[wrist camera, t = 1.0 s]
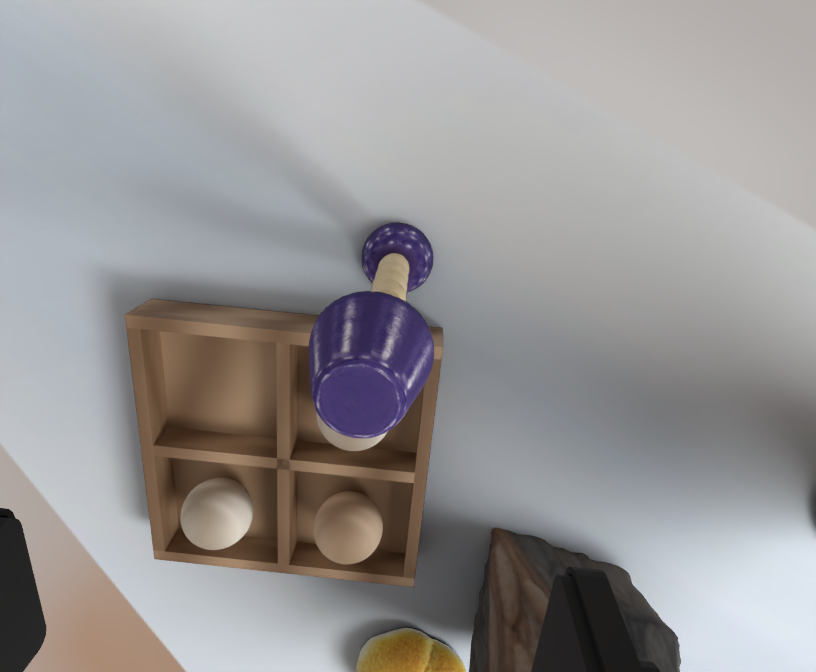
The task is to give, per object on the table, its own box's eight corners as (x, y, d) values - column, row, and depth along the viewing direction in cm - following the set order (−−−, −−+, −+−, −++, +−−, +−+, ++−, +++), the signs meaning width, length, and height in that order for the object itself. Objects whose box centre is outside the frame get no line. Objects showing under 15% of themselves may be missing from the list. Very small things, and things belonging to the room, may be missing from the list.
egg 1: (261, 467, 37) (238, 512, 32) (263, 519, 38) (241, 569, 34) (196, 460, 37) (164, 504, 32) (200, 513, 38) (170, 561, 34)
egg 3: (388, 480, 36) (381, 527, 32) (383, 532, 38) (376, 584, 34) (322, 473, 36) (306, 519, 32) (320, 526, 38) (305, 576, 34)
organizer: (442, 328, 33) (443, 346, 30) (415, 554, 40) (413, 586, 37) (151, 298, 33) (124, 314, 30) (174, 528, 40) (154, 559, 37)
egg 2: (398, 365, 33) (392, 401, 29) (392, 428, 35) (386, 470, 31) (325, 358, 33) (309, 392, 29) (323, 421, 35) (308, 462, 31)
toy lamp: (447, 285, 32) (456, 436, 16) (377, 312, 33) (323, 480, 17) (416, 210, 30) (395, 300, 15) (344, 241, 31) (252, 356, 16)
